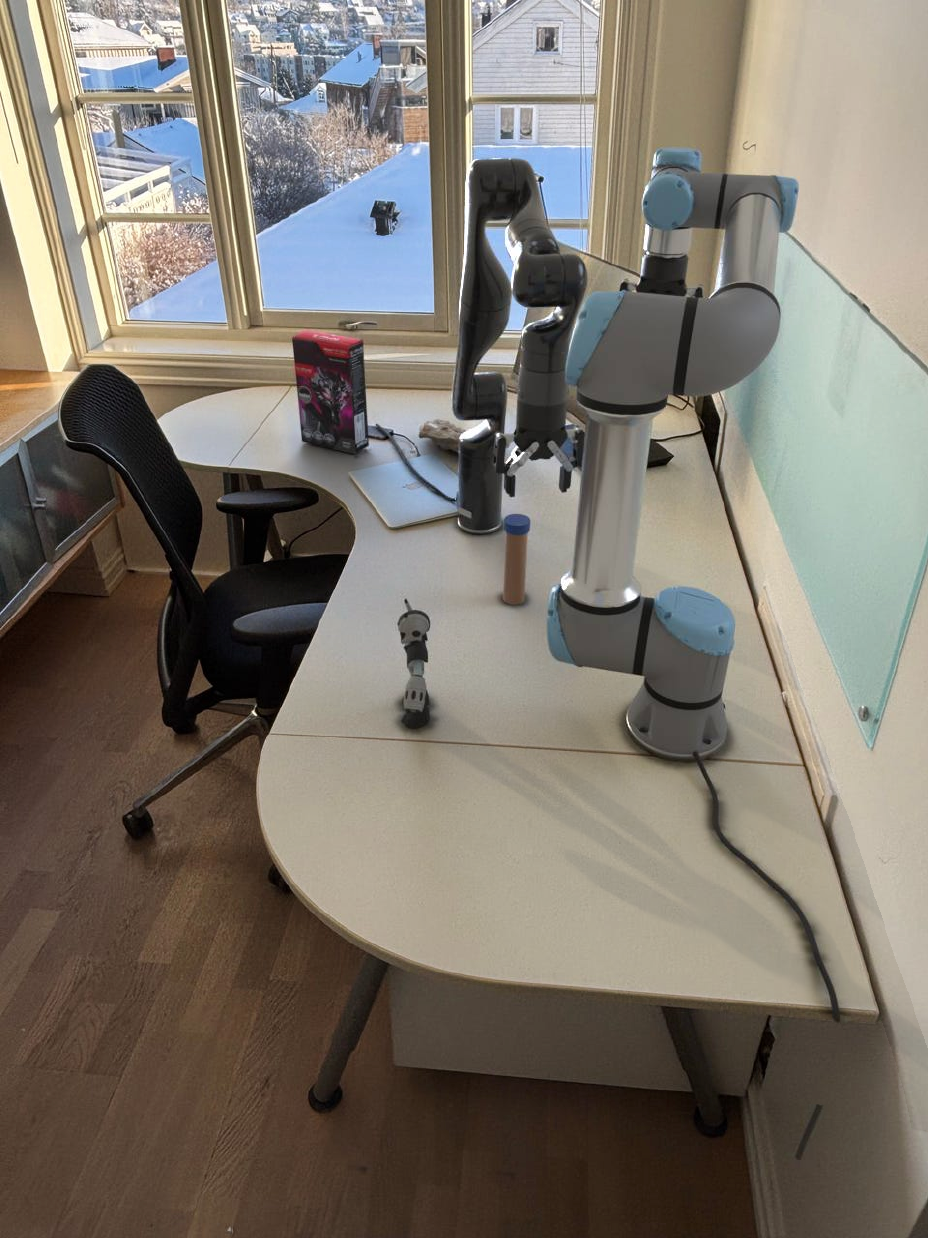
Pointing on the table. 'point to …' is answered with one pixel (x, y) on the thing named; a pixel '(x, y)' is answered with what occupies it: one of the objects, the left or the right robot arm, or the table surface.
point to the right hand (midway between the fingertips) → (650, 378)
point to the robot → (415, 666)
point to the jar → (515, 568)
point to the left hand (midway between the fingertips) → (536, 492)
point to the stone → (442, 434)
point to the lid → (517, 524)
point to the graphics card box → (331, 390)
